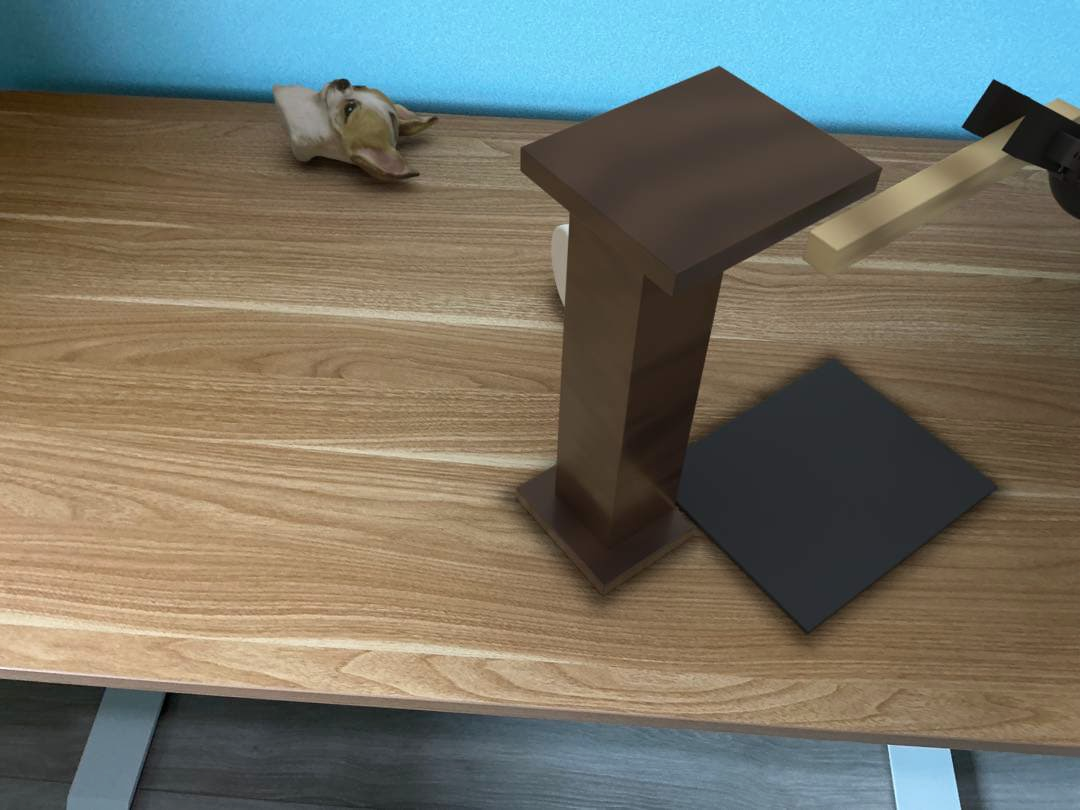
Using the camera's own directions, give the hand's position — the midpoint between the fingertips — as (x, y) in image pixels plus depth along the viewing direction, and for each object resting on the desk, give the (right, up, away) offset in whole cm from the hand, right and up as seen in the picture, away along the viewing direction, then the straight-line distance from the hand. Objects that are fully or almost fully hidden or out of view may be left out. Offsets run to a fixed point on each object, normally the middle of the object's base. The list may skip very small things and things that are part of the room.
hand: (1003, 117), depth 50 cm
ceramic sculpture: (-42, +10, +48) cm, 64 cm away
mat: (-3, -20, +22) cm, 30 cm away
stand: (-16, -21, +22) cm, 34 cm away
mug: (-16, -7, +34) cm, 38 cm away
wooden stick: (-2, -4, +2) cm, 5 cm away
